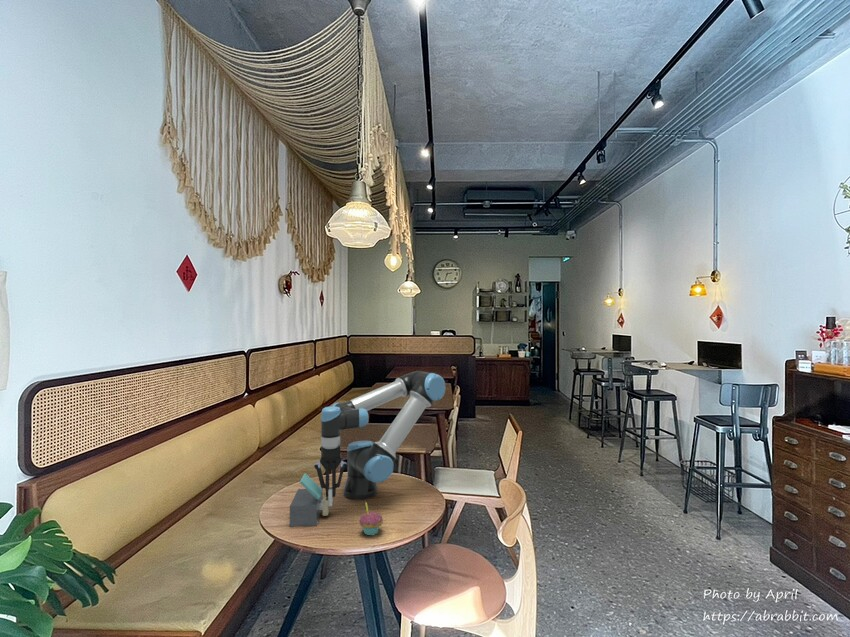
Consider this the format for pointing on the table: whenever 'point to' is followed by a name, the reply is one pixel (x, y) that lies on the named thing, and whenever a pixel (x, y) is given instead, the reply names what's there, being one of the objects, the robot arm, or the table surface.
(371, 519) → the cupcake
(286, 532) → the table surface
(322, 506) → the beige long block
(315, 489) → the teal rectangular plate
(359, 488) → the robot arm
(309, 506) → the grey block
